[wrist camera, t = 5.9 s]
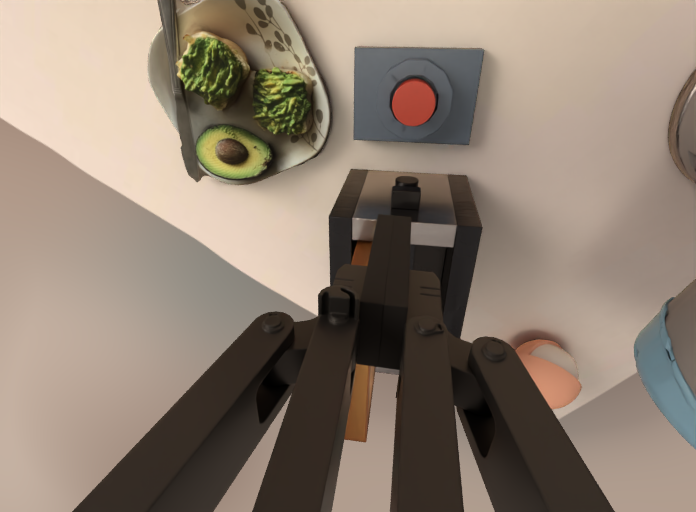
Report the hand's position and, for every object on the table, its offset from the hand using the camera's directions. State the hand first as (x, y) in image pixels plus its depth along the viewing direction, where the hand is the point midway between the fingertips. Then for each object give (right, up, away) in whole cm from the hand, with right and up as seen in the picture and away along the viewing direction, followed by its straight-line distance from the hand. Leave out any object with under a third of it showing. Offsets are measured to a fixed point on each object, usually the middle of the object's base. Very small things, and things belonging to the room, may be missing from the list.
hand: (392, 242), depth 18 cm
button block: (+4, +15, +19) cm, 24 cm away
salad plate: (-13, +15, +22) cm, 29 cm away
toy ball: (+22, -13, +32) cm, 41 cm away
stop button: (+4, +13, +16) cm, 21 cm away
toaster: (+4, +1, +27) cm, 27 cm away
